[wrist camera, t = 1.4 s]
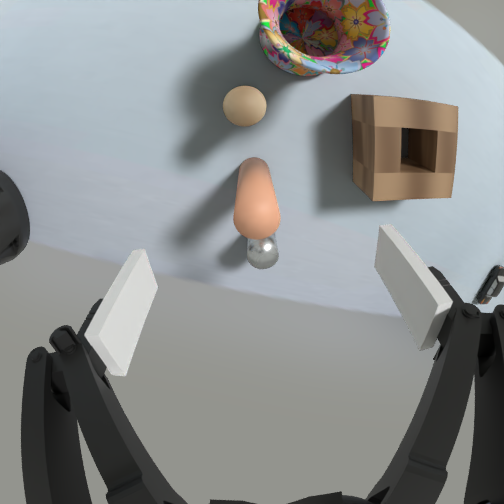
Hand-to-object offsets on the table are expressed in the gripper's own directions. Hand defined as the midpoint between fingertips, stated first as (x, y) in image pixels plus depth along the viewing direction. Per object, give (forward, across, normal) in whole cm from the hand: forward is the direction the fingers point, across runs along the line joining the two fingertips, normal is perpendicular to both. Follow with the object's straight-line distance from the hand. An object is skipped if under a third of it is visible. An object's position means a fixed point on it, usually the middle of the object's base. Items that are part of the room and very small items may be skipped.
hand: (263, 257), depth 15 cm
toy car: (+18, +43, -20) cm, 50 cm away
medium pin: (+17, 0, +8) cm, 18 cm away
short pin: (+17, 0, -7) cm, 18 cm away
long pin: (+17, 0, 0) cm, 17 cm away
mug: (+17, +7, +16) cm, 24 cm away
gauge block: (+17, +16, +3) cm, 23 cm away
